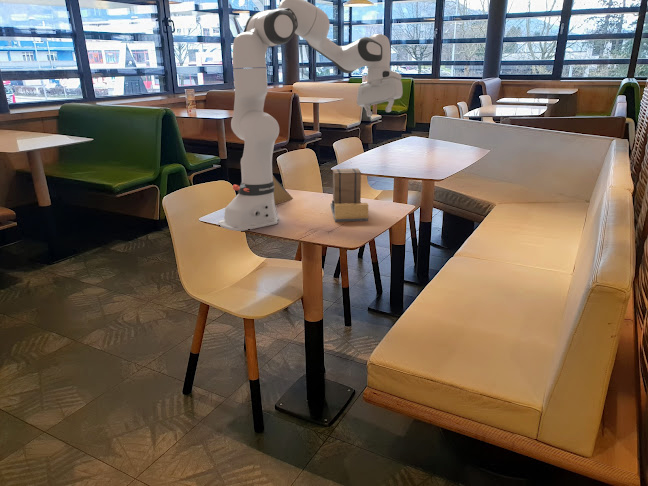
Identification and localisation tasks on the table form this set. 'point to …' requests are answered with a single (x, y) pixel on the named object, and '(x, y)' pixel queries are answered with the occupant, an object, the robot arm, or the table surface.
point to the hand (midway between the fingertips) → (378, 114)
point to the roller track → (349, 211)
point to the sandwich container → (280, 192)
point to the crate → (346, 186)
